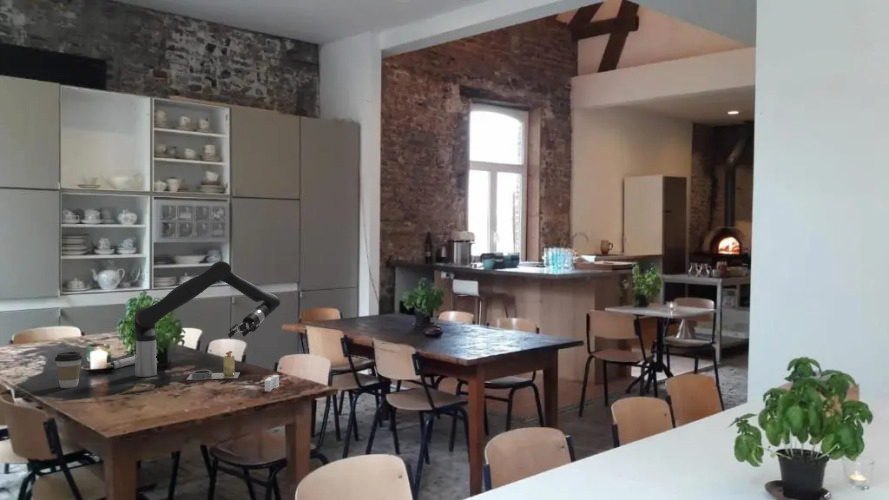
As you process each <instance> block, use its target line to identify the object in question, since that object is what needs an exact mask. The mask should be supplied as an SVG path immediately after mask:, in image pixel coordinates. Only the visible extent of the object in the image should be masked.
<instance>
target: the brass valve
mask: <svg viewBox="0 0 889 500" xmlns="http://www.w3.org/2000/svg"><path fill="white" fill-rule="evenodd" d="M232 353H233V351H231V350H229V351H227V352H225V355H226V356H223V373H224V376H234V375H235V372H236V371H235V365H236V364H235V356H234V355H231V354H232Z"/></svg>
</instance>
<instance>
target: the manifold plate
mask: <svg viewBox="0 0 889 500" xmlns="http://www.w3.org/2000/svg"><path fill="white" fill-rule="evenodd" d="M240 373H241V372H239V371H238V372H236V371H235V375H234V376H224V372H213V370H209V369H199V370H194V371H192V372H191V373H190V375H188V377H187V378H186V380H213V379H215V380H217V379H220V380H221V379H238V378H239V375H240Z"/></svg>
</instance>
